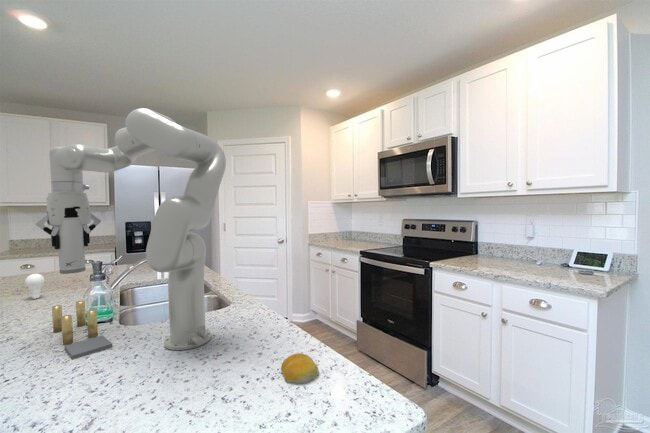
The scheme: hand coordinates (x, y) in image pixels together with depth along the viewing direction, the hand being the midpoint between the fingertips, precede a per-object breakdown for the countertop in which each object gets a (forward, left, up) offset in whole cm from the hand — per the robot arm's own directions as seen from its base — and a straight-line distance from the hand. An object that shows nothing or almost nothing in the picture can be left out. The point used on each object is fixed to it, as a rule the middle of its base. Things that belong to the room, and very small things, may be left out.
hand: (71, 246), depth 96 cm
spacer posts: (+1, 0, -27) cm, 27 cm away
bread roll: (-70, -28, -28) cm, 80 cm away
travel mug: (0, 0, -8) cm, 8 cm away
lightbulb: (+61, +2, -28) cm, 67 cm away
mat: (-15, 0, -27) cm, 31 cm away
